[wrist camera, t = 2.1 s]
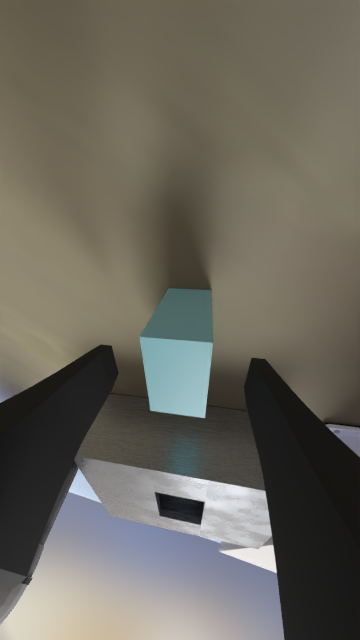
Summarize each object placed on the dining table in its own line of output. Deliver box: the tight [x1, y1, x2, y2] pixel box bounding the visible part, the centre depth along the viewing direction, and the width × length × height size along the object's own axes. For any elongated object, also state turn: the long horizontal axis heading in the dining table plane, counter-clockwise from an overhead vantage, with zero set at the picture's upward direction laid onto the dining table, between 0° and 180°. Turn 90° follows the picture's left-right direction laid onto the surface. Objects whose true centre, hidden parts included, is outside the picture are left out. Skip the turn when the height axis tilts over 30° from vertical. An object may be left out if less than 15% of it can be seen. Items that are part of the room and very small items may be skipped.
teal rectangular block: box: [140, 288, 213, 418], centre depth 11 cm, size 3×5×6 cm, turn 1°
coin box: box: [74, 393, 272, 549], centre depth 20 cm, size 18×16×6 cm
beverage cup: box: [0, 461, 79, 624], centre depth 19 cm, size 7×7×20 cm
